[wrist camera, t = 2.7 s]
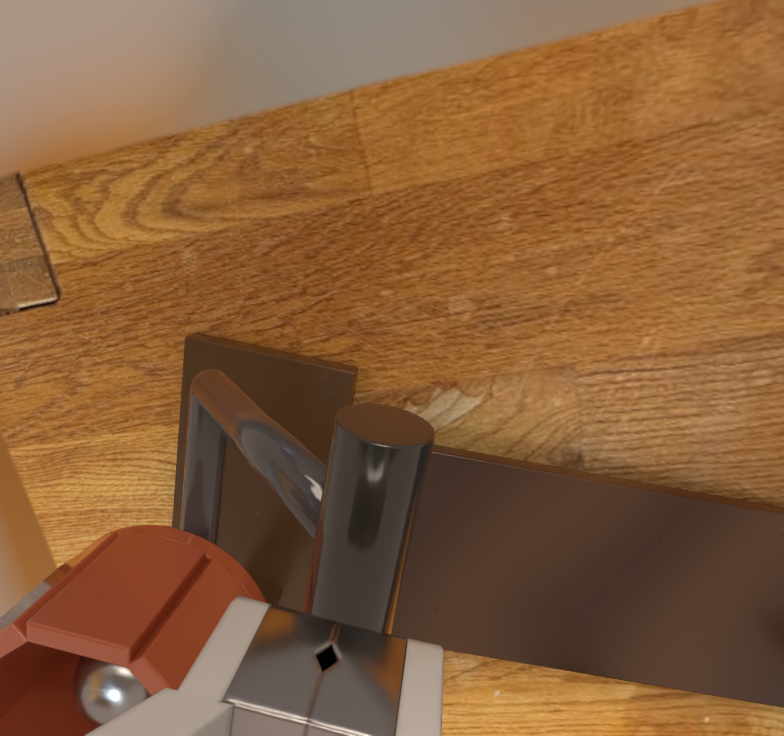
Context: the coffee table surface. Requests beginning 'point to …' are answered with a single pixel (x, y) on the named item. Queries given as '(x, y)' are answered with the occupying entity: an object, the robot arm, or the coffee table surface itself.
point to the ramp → (597, 576)
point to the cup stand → (241, 482)
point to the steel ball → (105, 690)
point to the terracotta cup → (219, 555)
